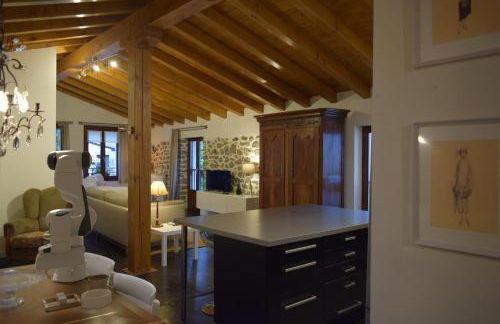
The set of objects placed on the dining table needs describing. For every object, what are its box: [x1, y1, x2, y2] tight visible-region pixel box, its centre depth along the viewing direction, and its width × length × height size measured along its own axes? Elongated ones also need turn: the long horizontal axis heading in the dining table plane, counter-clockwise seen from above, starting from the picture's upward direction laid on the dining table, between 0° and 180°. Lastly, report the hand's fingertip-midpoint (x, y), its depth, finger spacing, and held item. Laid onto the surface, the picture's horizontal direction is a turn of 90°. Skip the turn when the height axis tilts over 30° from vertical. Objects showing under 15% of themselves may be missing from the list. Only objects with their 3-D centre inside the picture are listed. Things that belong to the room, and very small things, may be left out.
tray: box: [41, 292, 82, 312], centre depth 167 cm, size 12×14×2 cm
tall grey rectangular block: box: [55, 292, 66, 304], centre depth 169 cm, size 4×3×4 cm
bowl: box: [80, 288, 113, 310], centre depth 167 cm, size 12×12×5 cm
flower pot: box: [87, 273, 110, 290], centre depth 180 cm, size 9×9×9 cm
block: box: [58, 296, 67, 304], centre depth 165 cm, size 4×3×4 cm
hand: (60, 277), depth 169 cm, fingers open, 8 cm apart
